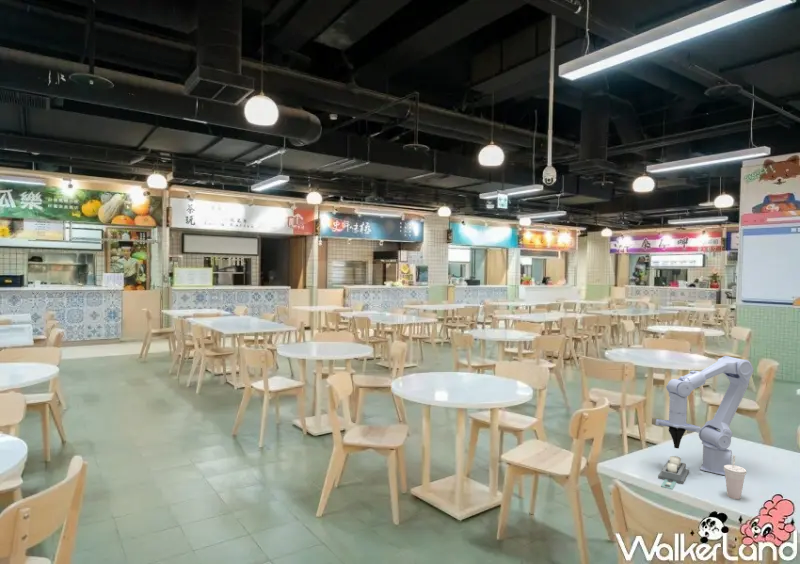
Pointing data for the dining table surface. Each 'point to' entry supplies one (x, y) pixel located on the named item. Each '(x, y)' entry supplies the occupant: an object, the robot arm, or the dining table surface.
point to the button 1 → (672, 468)
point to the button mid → (675, 461)
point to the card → (668, 484)
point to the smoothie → (734, 480)
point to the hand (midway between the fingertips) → (676, 447)
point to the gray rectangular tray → (674, 474)
